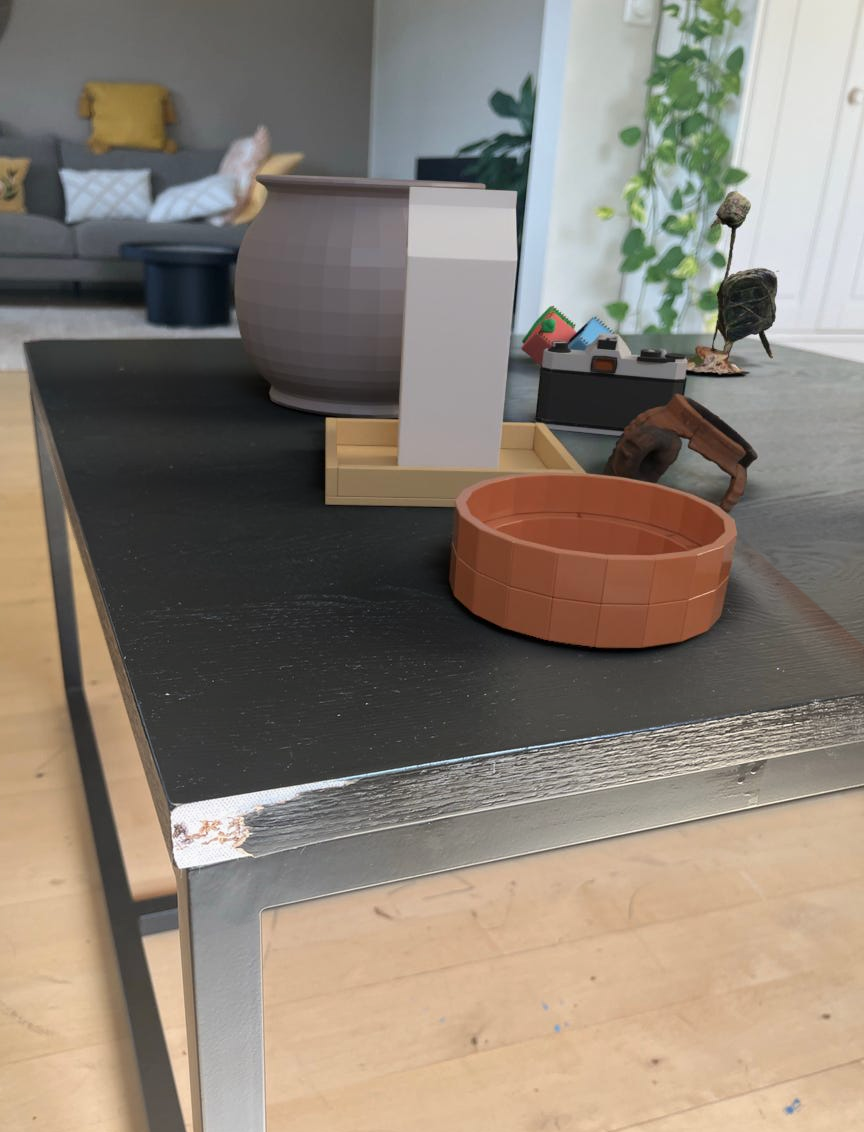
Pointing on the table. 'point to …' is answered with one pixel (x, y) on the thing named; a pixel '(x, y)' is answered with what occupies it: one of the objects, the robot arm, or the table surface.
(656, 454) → the brown curved piece
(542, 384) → the camera
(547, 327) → the building blocks
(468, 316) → the milk carton
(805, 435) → the table surface
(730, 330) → the plant with pod
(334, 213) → the round clay pot
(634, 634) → the bowl
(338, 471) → the tray
